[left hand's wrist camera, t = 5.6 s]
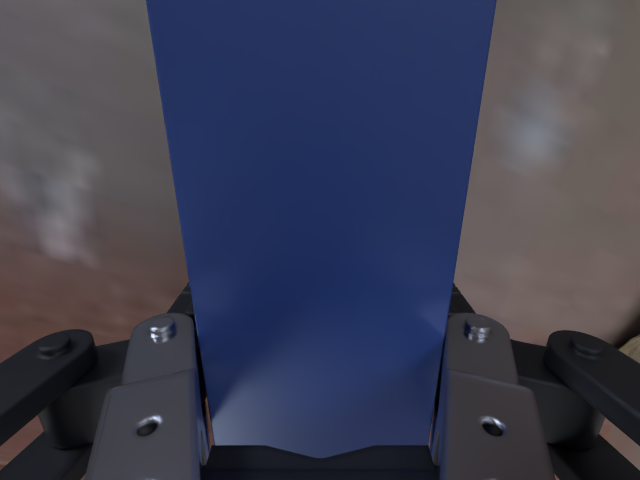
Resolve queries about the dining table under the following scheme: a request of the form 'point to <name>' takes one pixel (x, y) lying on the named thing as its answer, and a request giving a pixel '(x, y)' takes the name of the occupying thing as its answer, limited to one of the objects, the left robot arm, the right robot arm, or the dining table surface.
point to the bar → (321, 206)
